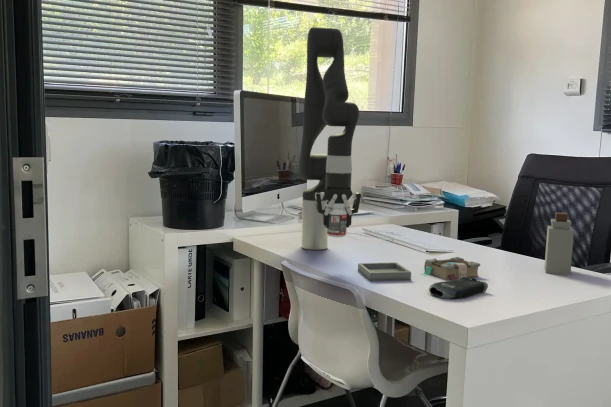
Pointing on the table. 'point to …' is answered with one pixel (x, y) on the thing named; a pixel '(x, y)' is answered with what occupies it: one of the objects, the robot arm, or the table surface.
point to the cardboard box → (451, 268)
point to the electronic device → (458, 288)
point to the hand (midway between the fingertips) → (336, 226)
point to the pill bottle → (337, 220)
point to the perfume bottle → (559, 245)
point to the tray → (384, 271)
